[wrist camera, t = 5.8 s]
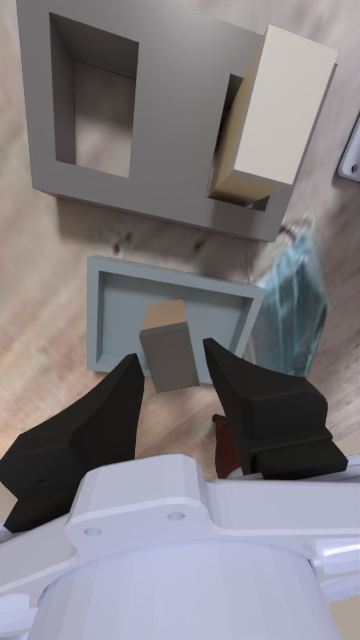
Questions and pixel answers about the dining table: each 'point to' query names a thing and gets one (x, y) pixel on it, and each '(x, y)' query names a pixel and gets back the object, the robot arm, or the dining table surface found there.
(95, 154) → the dining table surface
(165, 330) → the block
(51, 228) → the dining table surface
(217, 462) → the mate gourd
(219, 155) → the block
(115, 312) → the parts tray
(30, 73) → the block
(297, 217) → the dining table surface
